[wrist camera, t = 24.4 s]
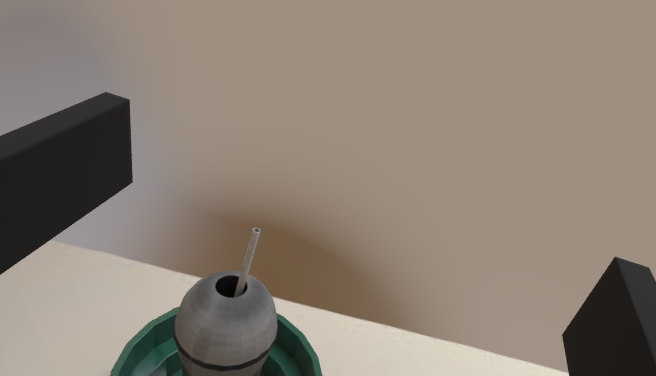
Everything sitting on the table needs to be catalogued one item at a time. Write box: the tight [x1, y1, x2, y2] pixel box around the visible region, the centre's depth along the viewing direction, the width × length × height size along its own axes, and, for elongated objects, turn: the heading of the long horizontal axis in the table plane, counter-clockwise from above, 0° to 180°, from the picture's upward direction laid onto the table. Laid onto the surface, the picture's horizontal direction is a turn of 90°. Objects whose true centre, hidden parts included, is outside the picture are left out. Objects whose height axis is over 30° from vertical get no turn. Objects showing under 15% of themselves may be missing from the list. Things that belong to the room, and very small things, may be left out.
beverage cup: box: [173, 228, 278, 376], centre depth 34 cm, size 7×7×20 cm
